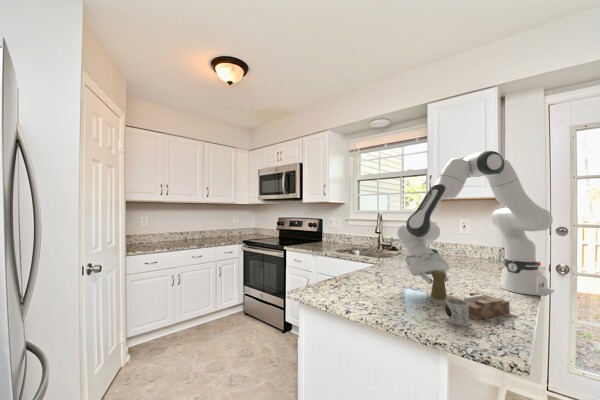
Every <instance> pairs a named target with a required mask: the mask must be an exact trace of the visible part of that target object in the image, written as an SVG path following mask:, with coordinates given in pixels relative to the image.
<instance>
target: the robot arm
mask: <svg viewBox="0 0 600 400" xmlns="http://www.w3.org/2000/svg"><path fill="white" fill-rule="evenodd" d="M479 177H486V178H487V181H488V184H489V186H490V188H491V191H492V194H493V195H494V197H495V200H496V201H497V202H498V203H500V204H502V205H503V206H505V207H502V208H499V209H496V210H494V211H493V212H492V215H491V222H492V223H493V225H494V226H495V227H496V228H497V229H498V230H499V231H500V234H501V236H502V238H503V241H504V251H505V253H504V254H505V255H504V256H505V257H504V261H503V263H504V264H503V265H504V268H502V270H501V277H500V282H498V286H499V287H501V289H503V290H505V291H509V292H513V293H517V294H522V295H523V294H524V295H532V296H541V297H542V296H543V297H547V296H549V295H550V294H553V293H555V289H554V288H551V287H548V278H547V277H546V276H545V275H544V274H543V273H541V272H540V270H539V267H541V265H542V264H541V261H537V258H536V256H537V255H536V244H535V243H534V242H533V241H532V240H530V239H529V238H528V236H527V235H526V232H533V233H534V232H542V231H547V230H548V229H550V227H551V226H552V225H553V220H554V219H553V216H552V213H551V212H550V211H549V210H547V209H545V208H543V207H541V206H540V205H538V204H537V203H536V202H534V201H533V200H532V199H531V197H529V195H528V194H527V193H526V191H525V189H524V187H523V185H522V183H521V181H520V179H519V177H518V175H517V172H516V170H515V169H514V167H513V165H512V164H511V163H510V161H509V160H508V159H505V158H503V156H502V155H501V154H500V153H499V152H498V151H494V150H485V151H480V152H475V153H473V154H470V155H466V156H463V157H454V158H451V159H449V161H448V162H447V163H446V165H445V166H444V167H443V169H442V170H441V172H440V174H439V176H438V178H437V180H436V181H435V183H434V184H433V185H432V186H431V187H430V188H429V190H428V191H427V192H426V194H425V196H424V197H423V199H422V201H421V202H420V204H419V205H418V206H417V208H416V210H415V211H414V212H413V213H412V214H411V215H410V216H409V217H408V218H407V220H406V223H405V224H402V225H401V226H400V227H399V228H398V229H397V233H396V234H397V238H398V240H399V242H400V244H401V245H402V247H403V249H405V250H406V252H407V255H406V256H405V257H404V261H405V263H406V266H407V268H408V271H409V272H410V274H411V275H412V276H414V277H419V276H420V278H422V279H423V280H424V281H426V283H427V284H428V285H431V284H433V279H432V278H431V277H429V276H430V275H432V272H433V271H443V272H444V273H445V274H446V278H445V279H444V281H445V283H446V282H447V283H448V282H449V279H450V278H449V277H448V275H447V272H448V271H450V268H451V267H450V265H449V263H448V262H447V261H446V259H444V257H443V256H442V255H440V251H439V250H437V249H435V248H432V247H429V246H427V244H430V243H432V242H434V241H436V240H437V239H438V238H439V237H440V234H441V229H440V227H439V225H437V224H436V223H435V222H434V221H432V220H431V219H432V215H433V213H434V212H435V210H436V208H437V207H438V205H439V203H440V202H441V201H442V200H451V199H454V198H456V197H458V195H459V194H460V193H461V191H462V189H463V187H464V186H465V184H466V181H467V179H468V178H479ZM427 275H429V276H427Z"/></svg>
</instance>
